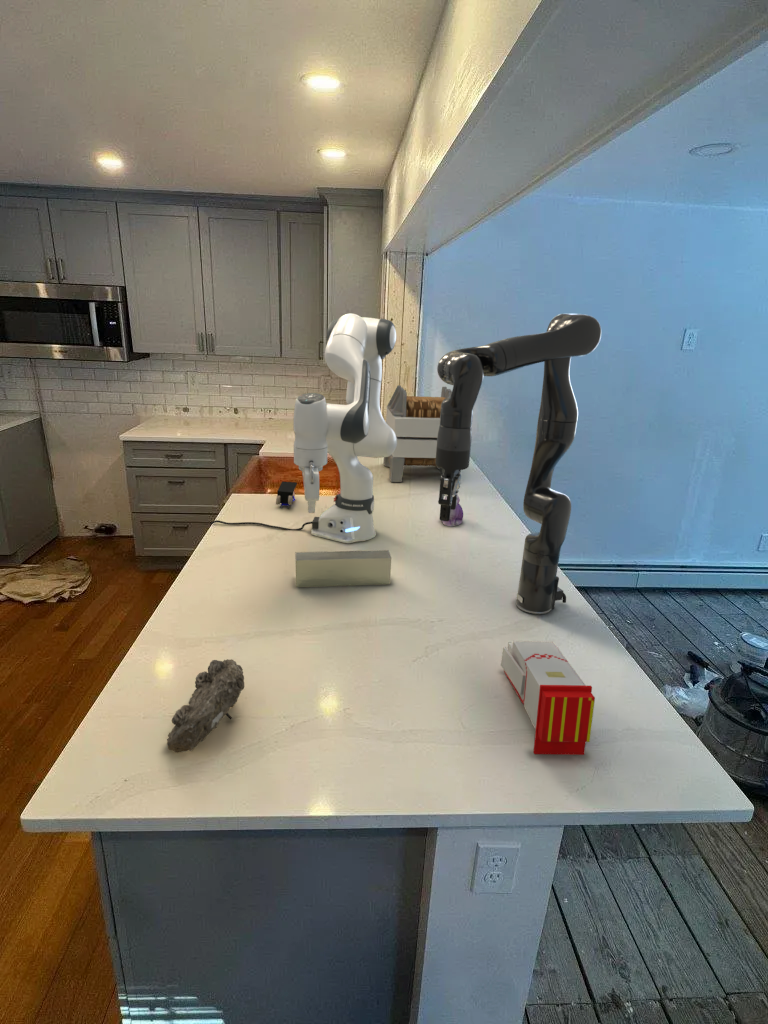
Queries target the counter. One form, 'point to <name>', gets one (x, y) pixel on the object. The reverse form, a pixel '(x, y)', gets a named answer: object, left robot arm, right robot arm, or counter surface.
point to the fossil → (206, 705)
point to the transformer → (413, 430)
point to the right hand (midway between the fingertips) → (447, 514)
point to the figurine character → (286, 494)
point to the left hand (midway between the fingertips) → (310, 506)
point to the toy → (550, 696)
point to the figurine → (455, 515)
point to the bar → (342, 568)
